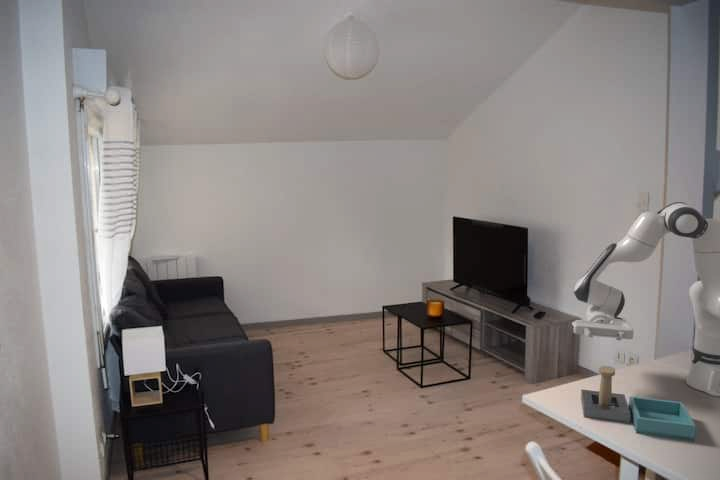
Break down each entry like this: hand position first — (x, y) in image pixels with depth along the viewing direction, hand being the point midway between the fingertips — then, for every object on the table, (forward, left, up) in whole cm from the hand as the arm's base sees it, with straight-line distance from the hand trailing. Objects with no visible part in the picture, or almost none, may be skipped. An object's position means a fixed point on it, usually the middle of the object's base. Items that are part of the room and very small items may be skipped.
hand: (604, 336), depth 191 cm
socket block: (0, +12, -22) cm, 25 cm away
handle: (0, +12, -23) cm, 26 cm away
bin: (-16, +17, -22) cm, 32 cm away
